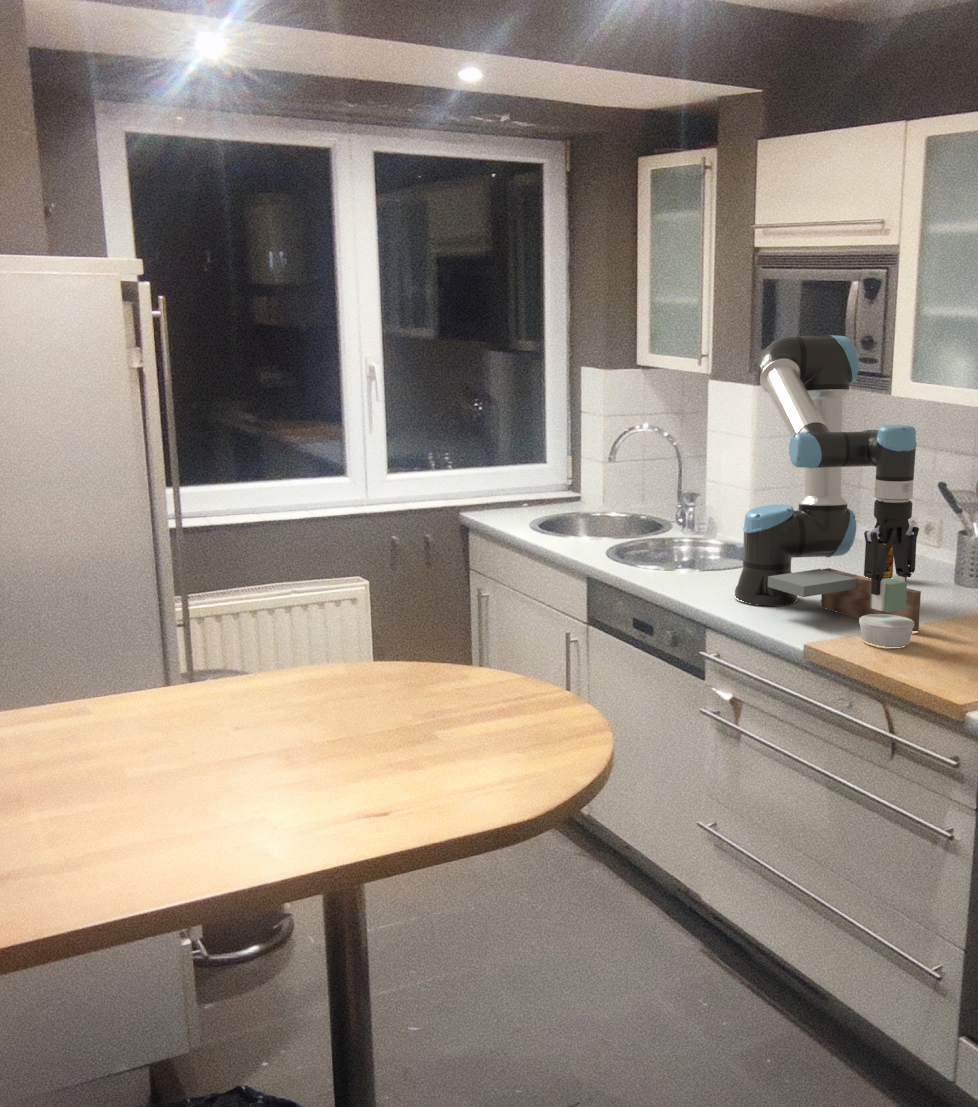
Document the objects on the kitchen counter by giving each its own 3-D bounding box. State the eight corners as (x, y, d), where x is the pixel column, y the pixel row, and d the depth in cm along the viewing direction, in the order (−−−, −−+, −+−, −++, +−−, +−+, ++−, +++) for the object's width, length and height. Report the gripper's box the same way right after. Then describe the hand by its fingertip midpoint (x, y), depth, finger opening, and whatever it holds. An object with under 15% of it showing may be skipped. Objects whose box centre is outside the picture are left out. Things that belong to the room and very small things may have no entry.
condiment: (886, 584, 291) (889, 539, 289) (856, 579, 297) (858, 535, 294) (898, 579, 296) (901, 535, 294) (868, 575, 302) (870, 531, 299)
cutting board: (820, 607, 268) (822, 569, 266) (827, 606, 269) (828, 568, 267) (911, 634, 244) (914, 592, 242) (918, 633, 245) (920, 591, 243)
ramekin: (896, 635, 244) (898, 612, 243) (923, 649, 233) (924, 625, 232) (848, 638, 242) (849, 614, 241) (873, 652, 231) (874, 628, 230)
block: (870, 607, 237) (871, 580, 236) (887, 605, 239) (888, 577, 238) (888, 612, 233) (889, 584, 231) (905, 609, 235) (907, 582, 234)
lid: (767, 586, 260) (768, 576, 260) (819, 578, 267) (819, 568, 267) (803, 597, 250) (803, 586, 249) (856, 588, 257) (856, 578, 256)
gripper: (875, 505, 224) (869, 616, 229) (938, 498, 232) (932, 606, 237) (848, 500, 231) (843, 609, 235) (910, 494, 239) (904, 599, 243)
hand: (887, 607), depth 236 cm, fingers closed on block, 5 cm apart
